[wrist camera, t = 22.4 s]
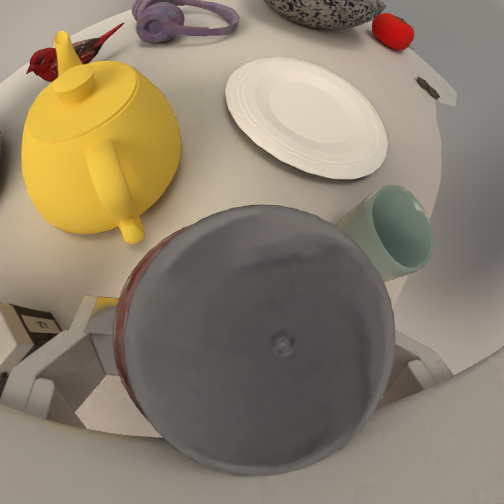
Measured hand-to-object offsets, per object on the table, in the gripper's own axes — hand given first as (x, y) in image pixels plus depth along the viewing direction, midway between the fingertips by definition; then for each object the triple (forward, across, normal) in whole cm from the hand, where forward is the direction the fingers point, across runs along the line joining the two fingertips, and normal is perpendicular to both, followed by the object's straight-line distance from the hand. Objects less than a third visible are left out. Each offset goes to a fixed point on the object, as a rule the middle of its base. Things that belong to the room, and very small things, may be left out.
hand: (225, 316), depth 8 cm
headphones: (+49, +6, -25) cm, 55 cm away
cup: (+17, -16, +7) cm, 24 cm away
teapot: (+25, +12, 0) cm, 27 cm away
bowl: (+59, -20, -36) cm, 72 cm away
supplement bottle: (+4, 0, +5) cm, 6 cm away
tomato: (+63, -48, -40) cm, 89 cm away
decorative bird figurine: (+37, +21, -13) cm, 45 cm away
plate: (+32, -14, -8) cm, 36 cm away
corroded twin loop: (+49, -54, -26) cm, 78 cm away
